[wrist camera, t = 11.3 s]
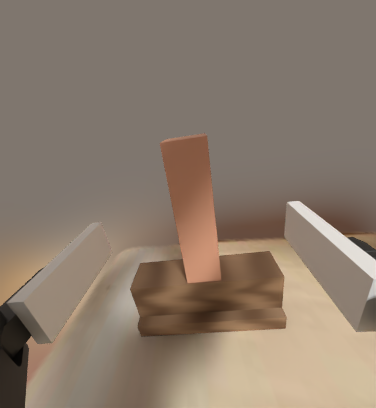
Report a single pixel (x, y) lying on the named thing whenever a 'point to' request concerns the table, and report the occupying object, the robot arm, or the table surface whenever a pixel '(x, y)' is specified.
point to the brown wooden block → (210, 297)
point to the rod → (193, 205)
